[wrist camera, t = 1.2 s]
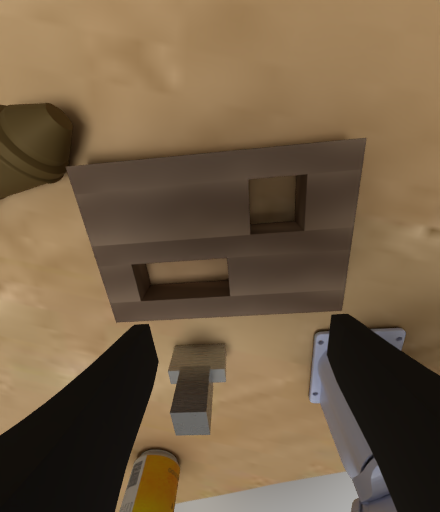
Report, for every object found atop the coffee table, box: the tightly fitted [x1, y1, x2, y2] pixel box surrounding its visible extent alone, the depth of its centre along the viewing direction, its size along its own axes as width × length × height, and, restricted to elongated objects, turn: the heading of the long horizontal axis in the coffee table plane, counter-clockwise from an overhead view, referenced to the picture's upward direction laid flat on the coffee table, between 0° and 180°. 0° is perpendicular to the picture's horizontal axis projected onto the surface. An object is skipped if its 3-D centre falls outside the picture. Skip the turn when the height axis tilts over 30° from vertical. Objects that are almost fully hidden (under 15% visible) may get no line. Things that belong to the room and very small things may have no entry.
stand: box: [66, 138, 366, 322], centre depth 17 cm, size 12×18×2 cm, turn 95°
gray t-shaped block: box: [168, 343, 226, 435], centre depth 20 cm, size 3×5×7 cm, turn 95°
